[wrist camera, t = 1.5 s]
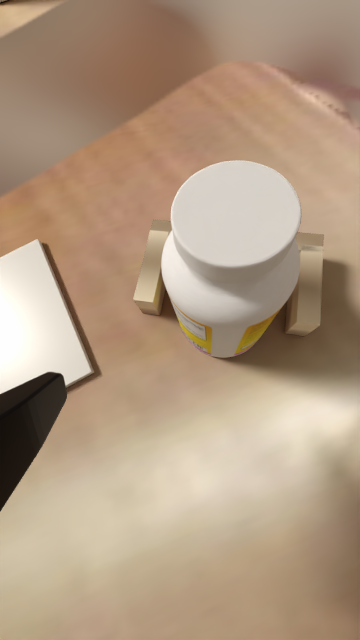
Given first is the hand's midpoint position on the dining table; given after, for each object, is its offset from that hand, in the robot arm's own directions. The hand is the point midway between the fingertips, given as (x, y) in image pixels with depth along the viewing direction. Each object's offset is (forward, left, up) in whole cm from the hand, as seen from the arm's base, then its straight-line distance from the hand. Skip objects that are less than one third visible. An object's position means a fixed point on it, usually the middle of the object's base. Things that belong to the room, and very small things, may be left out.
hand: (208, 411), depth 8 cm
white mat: (+13, +14, -13) cm, 23 cm away
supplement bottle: (+5, -4, -13) cm, 15 cm away
